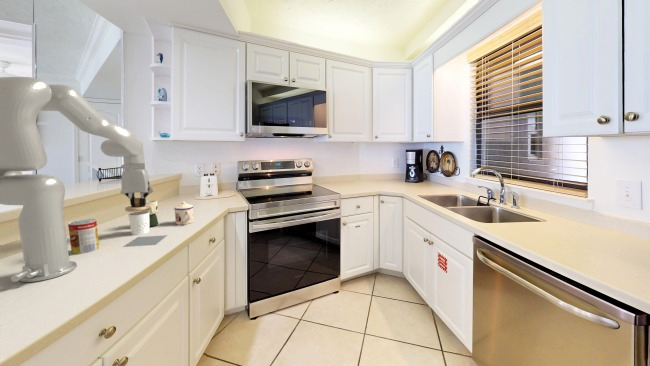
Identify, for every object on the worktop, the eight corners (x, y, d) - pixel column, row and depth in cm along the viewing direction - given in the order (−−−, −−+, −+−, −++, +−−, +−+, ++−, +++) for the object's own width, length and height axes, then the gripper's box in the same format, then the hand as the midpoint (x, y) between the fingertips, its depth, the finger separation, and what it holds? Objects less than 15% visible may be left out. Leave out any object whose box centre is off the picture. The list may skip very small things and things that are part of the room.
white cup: (154, 231, 123) (153, 211, 122) (141, 236, 116) (139, 215, 114) (140, 230, 124) (138, 211, 123) (125, 236, 116) (123, 215, 115)
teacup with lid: (172, 222, 138) (171, 201, 137) (190, 219, 145) (189, 199, 143) (180, 227, 130) (178, 205, 129) (198, 223, 137) (197, 202, 135)
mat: (155, 246, 104) (155, 244, 104) (122, 248, 102) (122, 246, 102) (167, 236, 116) (167, 235, 116) (138, 238, 113) (137, 237, 113)
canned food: (91, 246, 103) (88, 218, 102) (104, 249, 101) (101, 219, 99) (67, 253, 96) (63, 223, 95) (79, 256, 93) (75, 225, 92)
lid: (146, 211, 115) (145, 199, 114) (120, 212, 113) (119, 200, 112) (155, 206, 124) (154, 196, 124) (132, 207, 122) (131, 196, 122)
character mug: (161, 226, 131) (159, 202, 129) (144, 229, 126) (142, 204, 124) (157, 222, 139) (155, 199, 137) (141, 225, 134) (139, 201, 132)
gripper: (109, 168, 111) (113, 209, 113) (151, 167, 114) (154, 207, 116) (119, 167, 118) (123, 205, 120) (158, 166, 121) (161, 204, 124)
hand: (138, 206), depth 118 cm, fingers closed on lid, 3 cm apart
